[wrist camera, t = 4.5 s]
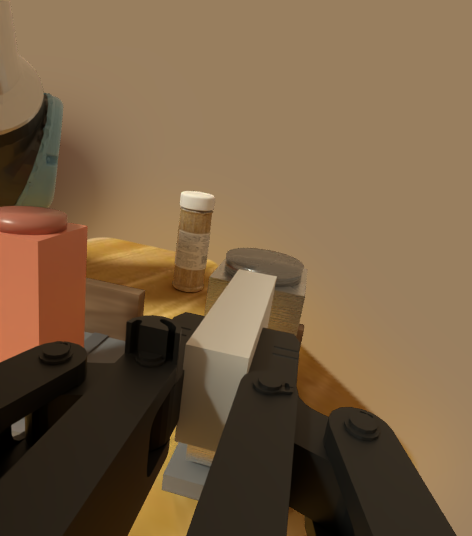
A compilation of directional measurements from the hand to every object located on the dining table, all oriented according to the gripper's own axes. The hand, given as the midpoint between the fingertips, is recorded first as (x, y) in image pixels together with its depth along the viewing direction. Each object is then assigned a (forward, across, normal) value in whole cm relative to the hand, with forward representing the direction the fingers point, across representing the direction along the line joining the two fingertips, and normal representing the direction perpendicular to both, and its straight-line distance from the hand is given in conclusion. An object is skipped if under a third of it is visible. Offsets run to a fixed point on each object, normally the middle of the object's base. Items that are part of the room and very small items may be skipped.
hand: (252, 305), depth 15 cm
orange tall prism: (+7, -15, -13) cm, 21 cm away
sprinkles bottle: (+37, -13, -14) cm, 41 cm away
